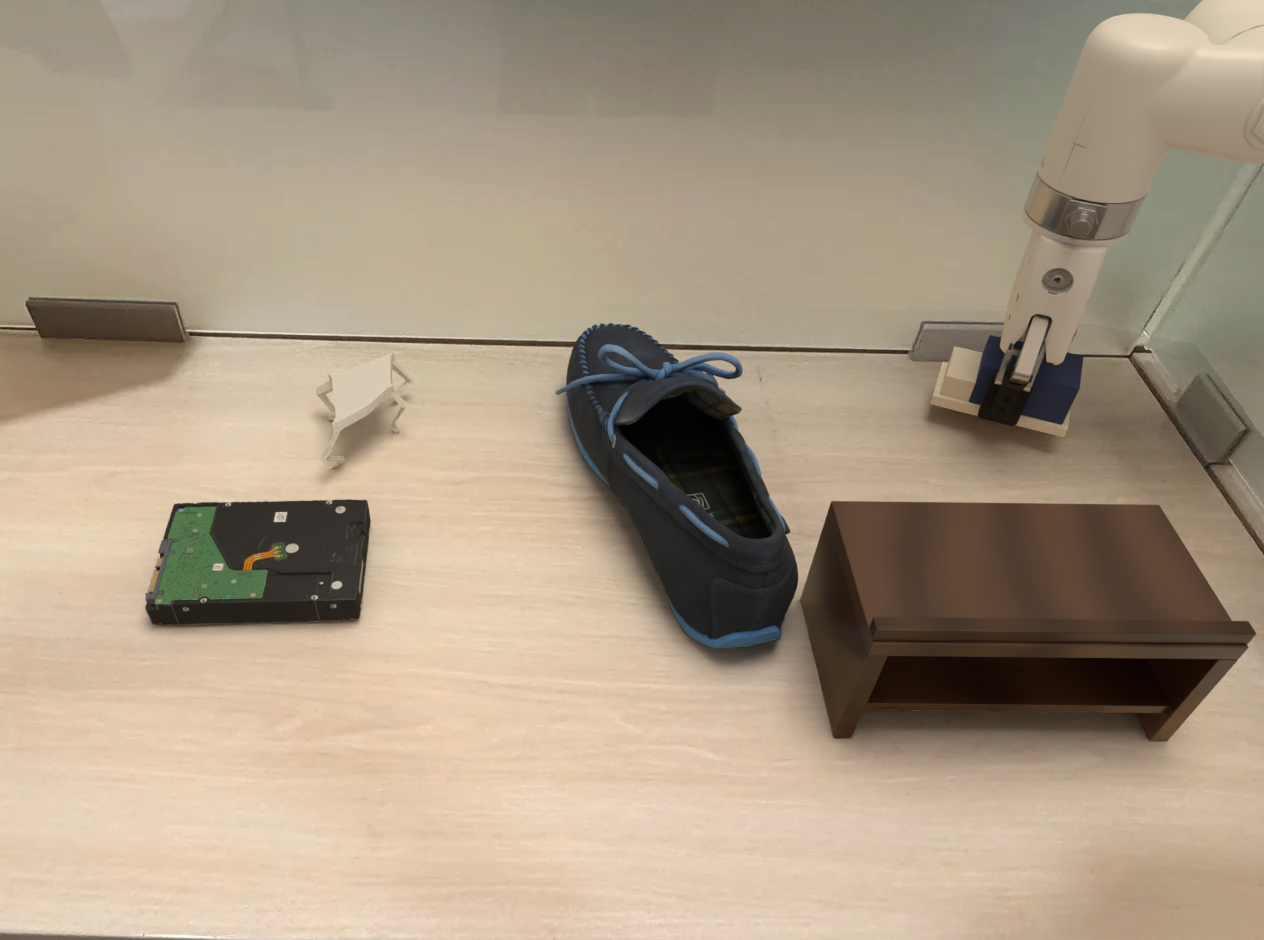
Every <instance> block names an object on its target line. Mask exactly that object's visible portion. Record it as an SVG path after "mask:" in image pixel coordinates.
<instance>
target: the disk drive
mask: <svg viewBox="0 0 1264 940" xmlns="http://www.w3.org/2000/svg"><path fill="white" fill-rule="evenodd" d="M371 523H372V519H371V512H370V507H369V501H368V499H351V498H348V499H332V500H328V499H326V500H325V499H320V500H319V499H314V500H279V501H277V500H276V501H275V500H274V501H273V500H272V501H267V500H266V501H259V500H257V501H231V502H228V501H225V502H224V501H221V502H220V501H206V502H205V501H201V502H196V503H195V502H182V503H181V502H179V503H173V505H172V509H171V512H170V515H169V519H168V521H167V525H166V528H165V531H164V535H163V536H162V537H163V538H162V539H161V541H160V545H159V549H158V550H157V553H158V555H159V557H158V558H157V560H156V564H155V566H154V568H155V569H154V570H153V572H152V576H151V580H150V584H149V587H148V589H147V592H146V593H145V594H144V596H145V602H146V604H145V608H144V609H145V612H146V614H147V616H148V618H149V620H150V623H151V624H152V625H162V626H187V625H216V624H217V625H228V624H234V625H235V624H258V623H261V624H263V623H264V624H265V623H303V622H304V623H305V622H306V623H308V622H333V621H335V622H336V621H337V622H338V621H339V622H341V621H350V620H355V621H356V620H359V619H360V618H361V611H362V599H363V594H364V584H365V576H366V570H367V569H366V567H367V558H368V549H369V543H370V542H369V540H370V528H371Z"/></svg>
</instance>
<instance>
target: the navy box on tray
mask: <svg viewBox="0 0 1264 940" xmlns="http://www.w3.org/2000/svg"><path fill="white" fill-rule="evenodd" d="M1000 342H1001V336H997V335H993V334H989V335H988V338H987V341H986V343H985V345H984V348H983V351H982V352H981V351H977V350H973V349H968V348H965V347H960V346H956V345H954V346H953V349H952V352H951V354H950V358H949V360H948V362H947V361H942V362H941V365H940V368H939V371H938V375H937V378H936V381H935V384H934V388H933V392H932V395H931V398H930V402H929V404H930V405H932V406H934V407H935V406H936V407H939V408H944V409H947V410H951V411H956V412H960V413H964V414H968V415H972V416H976V417H978V411H979V408H980V406H981V403H982V401H983V398H984V396H985V393H986V391H987V388H988V386H989V383H990V381H991V378H992V376H994V377H996V375H997V373H998V370H999V367H1000V364H1001V362H1002V359H1003V356H1004V354H1005V353H1004V352H1003V351H1002V350H1001V348H1000ZM1022 344H1023V342H1019V341H1017V342H1016V343H1015V344H1014V346H1016V347H1020V348H1021V347H1022ZM1017 359H1018V357H1013V356H1012V357H1011V360H1010V363H1009V365H1008V368H1009V367H1010V366H1012V367H1014V365H1015V364H1016V362H1017ZM1083 365H1084V355H1082V354H1077V353H1073V352H1068V351H1067V354H1066V356H1065V359H1064V361H1063V362H1062V363H1060V364H1058V365H1053V363H1049V362H1047V360H1046V351H1045V354H1044V356H1043V360H1042V361H1041V364H1040V367H1039V369H1038V372H1037V374H1036V377H1035V379H1034V382H1033V385H1032V386H1033V389H1032V391H1031V394H1030V396H1029V398H1028V400H1027V403H1026V405H1025V407H1024V409H1023V412H1022V414H1021V416H1020V418H1019V421H1018V423H1017V425H1015V426H1016V427H1020V428H1024V429H1029V430H1032V431H1037V432H1040V433H1043V434H1044V433H1045V434H1047V435H1048V434H1049V435H1053V436H1056V437H1060V438H1064V437H1065V436H1066V434H1067V432H1068V430H1069V424H1070V416H1071V409H1072V406H1073V403H1074V402H1075V399H1076V397H1077V395H1078V393H1079V391H1080V390H1081V389H1080V388H1081V382H1082V381H1081V379H1082V373H1083ZM1008 368H1007V369H1008Z"/></svg>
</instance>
